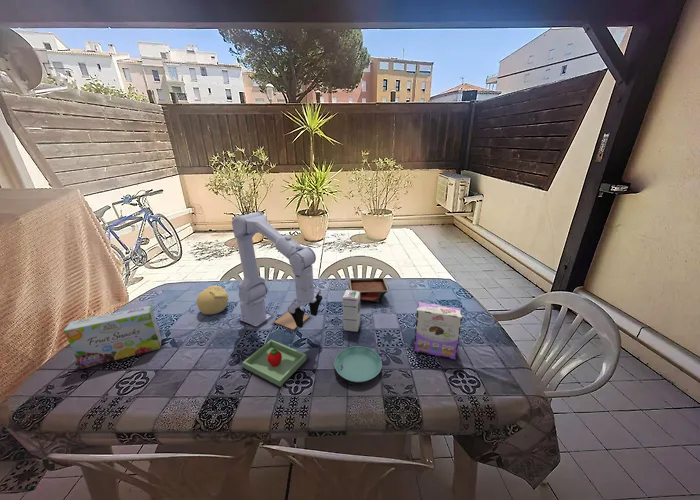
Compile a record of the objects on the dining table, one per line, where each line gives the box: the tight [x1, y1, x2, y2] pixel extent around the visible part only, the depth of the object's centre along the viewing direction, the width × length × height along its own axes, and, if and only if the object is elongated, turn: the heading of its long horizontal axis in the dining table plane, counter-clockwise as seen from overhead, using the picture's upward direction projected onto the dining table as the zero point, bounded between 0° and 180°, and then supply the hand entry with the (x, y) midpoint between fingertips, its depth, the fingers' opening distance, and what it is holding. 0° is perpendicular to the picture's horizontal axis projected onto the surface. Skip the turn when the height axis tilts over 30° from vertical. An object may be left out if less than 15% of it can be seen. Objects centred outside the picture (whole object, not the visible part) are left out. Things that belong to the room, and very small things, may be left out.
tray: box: [241, 339, 307, 388], centre depth 86 cm, size 15×12×2 cm
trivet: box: [273, 311, 311, 331], centre depth 109 cm, size 10×10×1 cm
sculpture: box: [196, 285, 229, 316], centre depth 114 cm, size 12×12×11 cm
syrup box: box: [342, 289, 361, 333], centre depth 102 cm, size 6×6×14 cm
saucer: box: [333, 345, 383, 384], centre depth 84 cm, size 15×15×3 cm
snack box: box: [63, 305, 163, 370], centre depth 88 cm, size 21×6×15 cm, turn 117°
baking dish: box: [347, 277, 390, 304], centre depth 124 cm, size 14×18×10 cm
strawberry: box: [268, 349, 282, 367], centre depth 85 cm, size 4×4×5 cm
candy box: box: [412, 301, 463, 360], centre depth 90 cm, size 14×6×16 cm, turn 71°
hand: (306, 320), depth 92 cm, fingers open, 7 cm apart
